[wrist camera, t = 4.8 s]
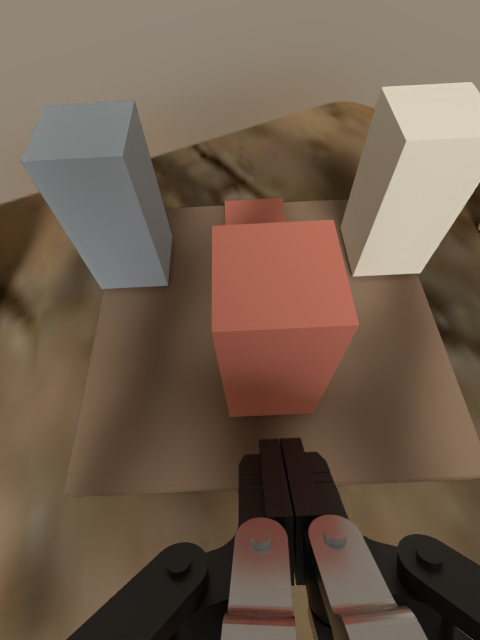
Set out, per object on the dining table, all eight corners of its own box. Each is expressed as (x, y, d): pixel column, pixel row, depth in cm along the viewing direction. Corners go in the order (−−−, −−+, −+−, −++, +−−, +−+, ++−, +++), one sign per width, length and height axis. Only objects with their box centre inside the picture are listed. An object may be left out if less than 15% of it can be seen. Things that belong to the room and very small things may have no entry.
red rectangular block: (229, 417, 17) (211, 332, 10) (227, 342, 19) (212, 225, 12) (313, 413, 17) (358, 325, 10) (302, 339, 19) (333, 219, 12)
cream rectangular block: (352, 276, 21) (406, 141, 14) (340, 227, 23) (381, 87, 16) (420, 273, 21) (510, 135, 14) (401, 224, 23) (471, 82, 16)
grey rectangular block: (101, 288, 21) (20, 161, 14) (111, 239, 23) (45, 105, 16) (168, 285, 21) (122, 156, 14) (172, 236, 23) (134, 100, 16)
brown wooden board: (77, 496, 17) (59, 493, 15) (125, 226, 26) (117, 206, 24) (473, 478, 17) (497, 473, 15) (382, 213, 26) (390, 192, 24)
